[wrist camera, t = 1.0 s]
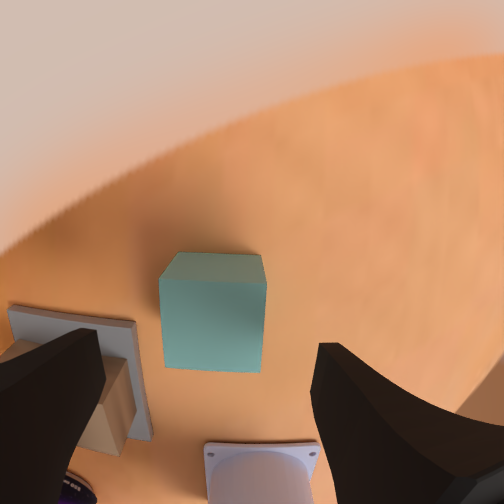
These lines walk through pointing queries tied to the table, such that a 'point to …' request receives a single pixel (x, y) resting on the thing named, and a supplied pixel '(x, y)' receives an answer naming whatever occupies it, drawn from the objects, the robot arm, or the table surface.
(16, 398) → the robot arm
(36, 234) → the table surface
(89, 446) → the walnut brick
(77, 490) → the beverage can
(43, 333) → the plate
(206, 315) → the cube
